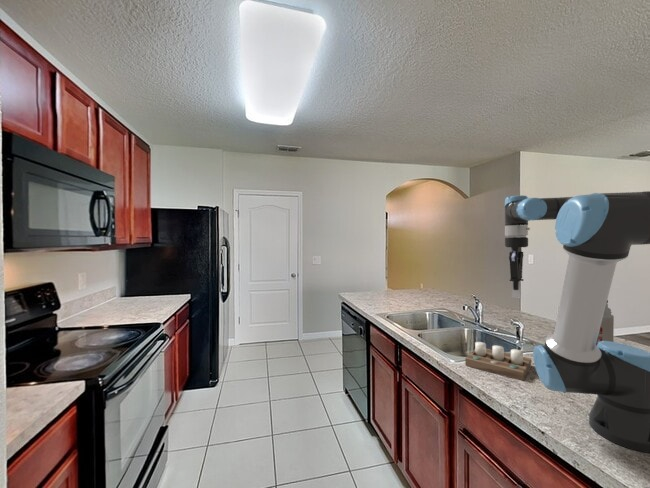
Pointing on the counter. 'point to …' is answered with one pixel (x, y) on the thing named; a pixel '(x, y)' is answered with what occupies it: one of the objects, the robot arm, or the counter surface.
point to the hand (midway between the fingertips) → (516, 297)
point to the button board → (499, 365)
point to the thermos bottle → (606, 326)
